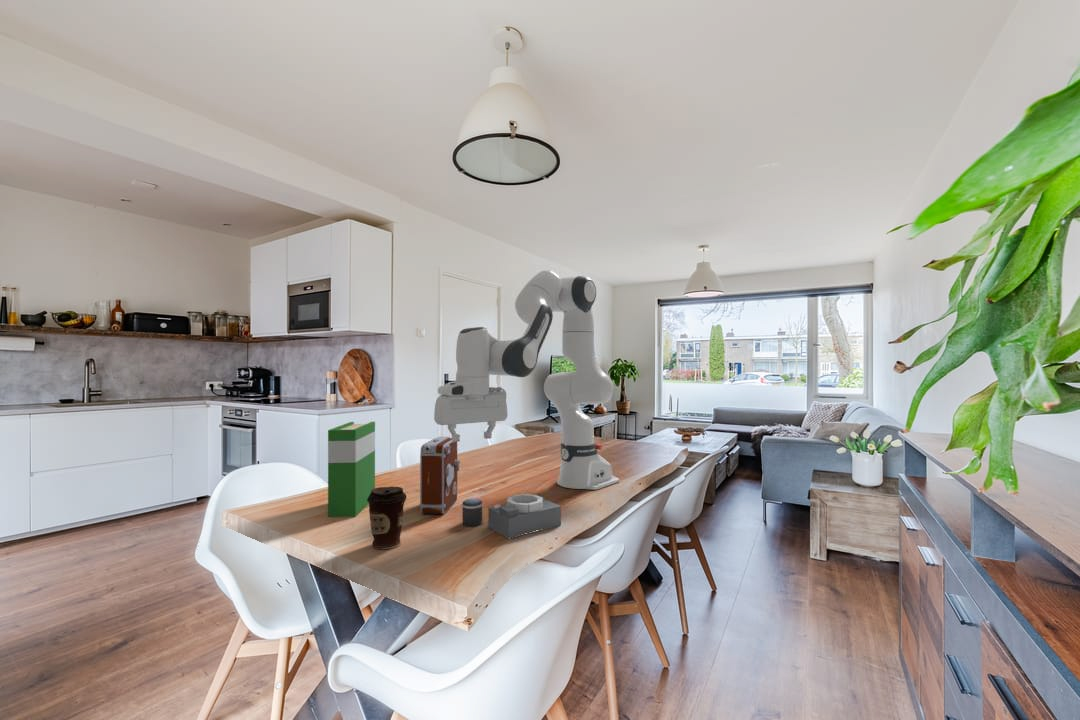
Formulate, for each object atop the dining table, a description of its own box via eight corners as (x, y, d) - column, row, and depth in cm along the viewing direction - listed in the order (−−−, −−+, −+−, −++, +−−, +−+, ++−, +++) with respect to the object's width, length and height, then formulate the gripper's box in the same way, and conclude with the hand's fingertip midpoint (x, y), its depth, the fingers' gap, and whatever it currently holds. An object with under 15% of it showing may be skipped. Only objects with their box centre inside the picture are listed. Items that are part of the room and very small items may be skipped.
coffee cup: (384, 555, 101) (384, 496, 101) (358, 548, 106) (358, 491, 106) (413, 542, 109) (413, 487, 109) (388, 535, 113) (388, 482, 113)
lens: (476, 518, 125) (476, 496, 125) (486, 524, 121) (486, 501, 121) (458, 522, 122) (458, 500, 122) (468, 528, 118) (468, 505, 118)
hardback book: (350, 498, 144) (350, 421, 144) (374, 497, 144) (374, 421, 144) (328, 517, 126) (328, 430, 126) (355, 516, 127) (355, 430, 127)
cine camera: (466, 496, 146) (466, 433, 146) (447, 516, 127) (447, 444, 127) (437, 495, 147) (437, 432, 147) (415, 515, 128) (415, 443, 128)
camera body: (538, 514, 128) (538, 489, 128) (560, 525, 120) (560, 498, 120) (488, 527, 119) (488, 500, 119) (509, 539, 111) (509, 510, 111)
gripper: (500, 386, 131) (499, 435, 130) (432, 388, 119) (431, 441, 119) (512, 387, 126) (511, 438, 125) (442, 389, 114) (441, 445, 113)
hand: (472, 439), depth 122 cm, fingers open, 8 cm apart
